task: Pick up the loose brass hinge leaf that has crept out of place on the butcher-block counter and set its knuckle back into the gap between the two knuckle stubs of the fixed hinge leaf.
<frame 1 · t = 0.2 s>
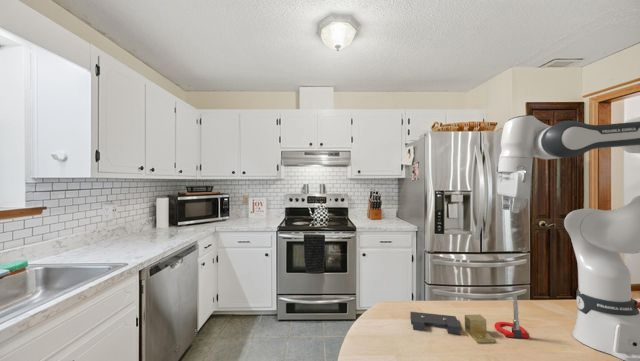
hand: (509, 211, 91), 38 cm above the counter, tool pointing down, fingers open, 8 cm apart
tow hook: (510, 331, 92), on the counter
fixed leaf: (435, 329, 94), on the counter
loose leaf: (475, 332, 91), on the counter
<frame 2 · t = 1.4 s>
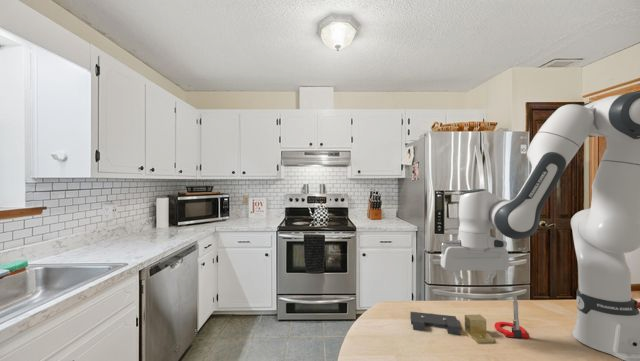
hand: (474, 283, 91), 16 cm above the counter, tool pointing down, fingers open, 8 cm apart
nothing on the counter moved.
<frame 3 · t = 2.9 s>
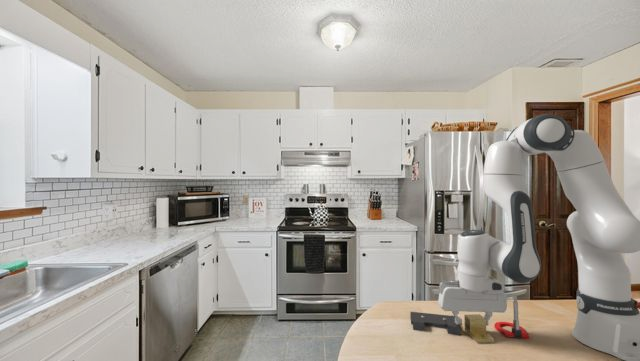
hand: (471, 324, 92), 2 cm above the counter, tool pointing down, fingers open, 7 cm apart
loose leaf: (475, 332, 91), on the counter, touching gripper
everything else where it was.
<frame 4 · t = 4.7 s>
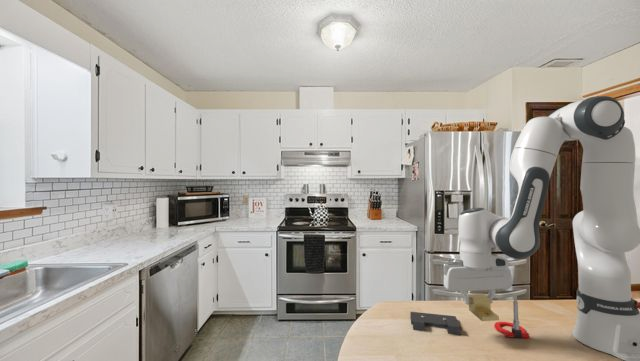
hand: (478, 303, 91), 9 cm above the counter, tool pointing down, fingers closed on loose leaf, 5 cm apart
loose leaf: (479, 312, 91), point 7 cm above the counter, touching gripper
everything else where it was.
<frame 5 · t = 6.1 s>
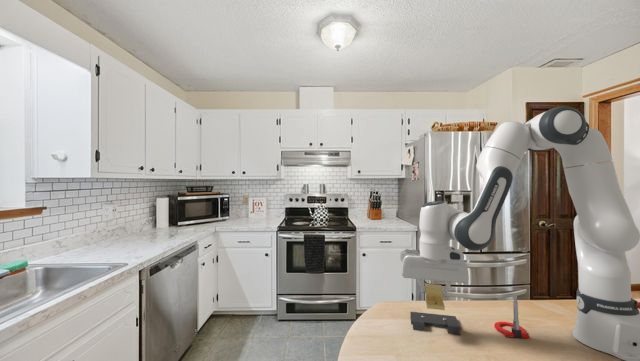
hand: (433, 293, 94), 12 cm above the counter, tool pointing down, fingers closed on loose leaf, 5 cm apart
loose leaf: (433, 301, 94), point 9 cm above the counter, touching gripper
everything else where it was.
when the fingers open (4 cm above the counter, at t = 7.8 s): loose leaf drops 2 cm, on the counter.
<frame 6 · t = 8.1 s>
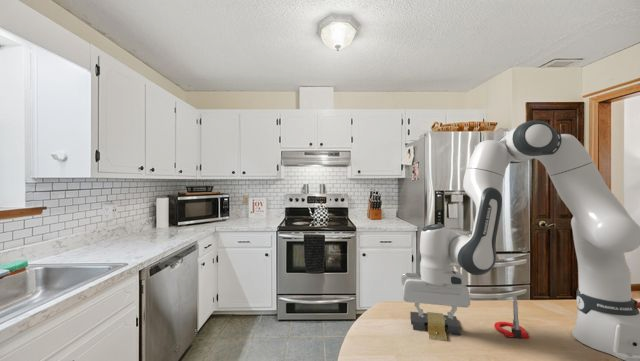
hand: (435, 317, 94), 4 cm above the counter, tool pointing down, fingers open, 8 cm apart
loose leaf: (435, 330, 93), on the counter
everything else where it was.
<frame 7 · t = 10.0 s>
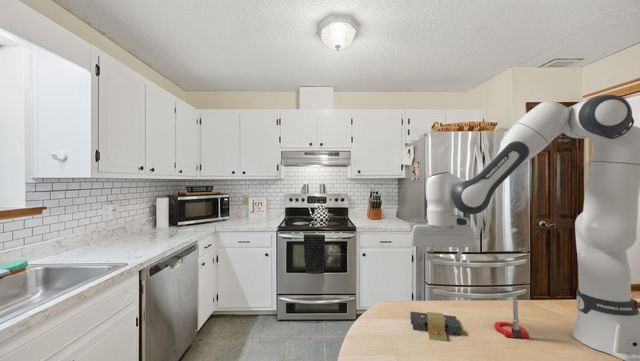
hand: (442, 259, 99), 21 cm above the counter, tool pointing down, fingers open, 8 cm apart
nothing on the counter moved.
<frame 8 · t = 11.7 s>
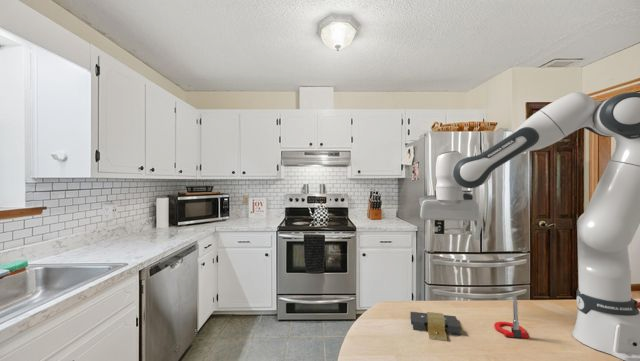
hand: (449, 232, 107), 29 cm above the counter, tool pointing down, fingers open, 8 cm apart
nothing on the counter moved.
at the end: loose leaf 0.2 cm off-centre on the fixed leaf, point 0.0 cm above the fixed leaf's base; loose leaf tilted 0°; the gripper is holding nothing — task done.
